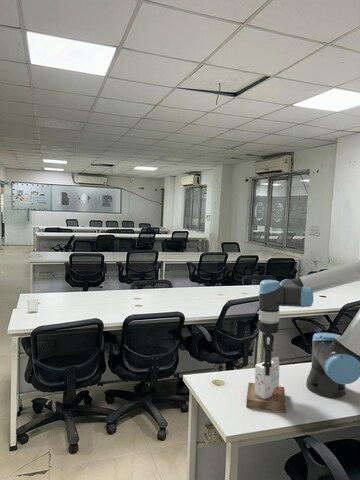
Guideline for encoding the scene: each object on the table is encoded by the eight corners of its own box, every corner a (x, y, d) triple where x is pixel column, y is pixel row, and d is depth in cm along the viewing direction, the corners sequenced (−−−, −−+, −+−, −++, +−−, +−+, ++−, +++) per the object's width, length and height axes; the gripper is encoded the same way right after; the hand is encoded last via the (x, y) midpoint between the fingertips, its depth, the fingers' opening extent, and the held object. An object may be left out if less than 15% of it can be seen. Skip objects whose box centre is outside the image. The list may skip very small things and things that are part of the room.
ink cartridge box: (268, 388, 139) (270, 352, 138) (278, 393, 135) (280, 356, 134) (253, 394, 134) (255, 356, 133) (263, 399, 130) (265, 361, 129)
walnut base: (284, 394, 140) (284, 386, 140) (285, 412, 127) (285, 404, 127) (248, 389, 144) (248, 382, 144) (246, 407, 130) (246, 399, 130)
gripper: (259, 311, 146) (258, 361, 148) (257, 329, 122) (256, 389, 124) (278, 313, 144) (276, 363, 146) (279, 331, 120) (278, 391, 122)
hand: (267, 375), depth 135 cm, fingers open, 13 cm apart
